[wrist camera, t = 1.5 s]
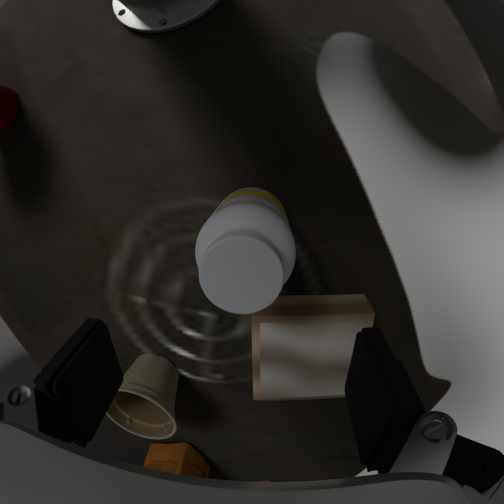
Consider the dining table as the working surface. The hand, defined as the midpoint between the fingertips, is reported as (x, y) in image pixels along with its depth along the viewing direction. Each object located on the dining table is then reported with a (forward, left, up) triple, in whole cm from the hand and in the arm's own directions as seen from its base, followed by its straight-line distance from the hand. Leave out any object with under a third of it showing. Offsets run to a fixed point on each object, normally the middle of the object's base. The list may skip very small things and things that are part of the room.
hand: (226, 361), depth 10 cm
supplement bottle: (0, 0, -19) cm, 19 cm away
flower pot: (+20, -13, -19) cm, 31 cm away
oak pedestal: (+14, +6, -19) cm, 24 cm away
